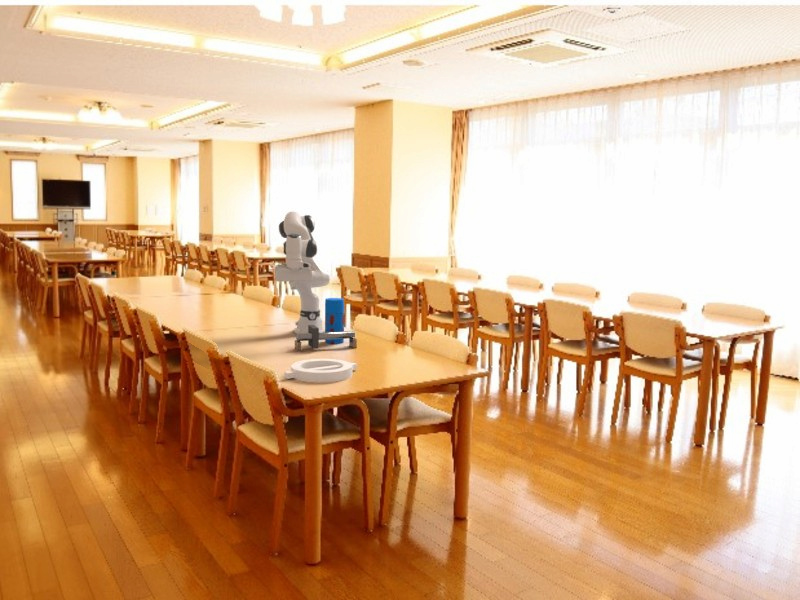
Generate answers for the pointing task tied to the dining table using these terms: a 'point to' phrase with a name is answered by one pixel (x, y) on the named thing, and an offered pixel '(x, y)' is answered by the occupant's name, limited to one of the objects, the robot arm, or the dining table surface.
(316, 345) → the collar
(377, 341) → the dining table surface
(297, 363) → the ring with crossbar
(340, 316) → the thermos
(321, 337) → the pipe rig
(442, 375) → the dining table surface
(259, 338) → the dining table surface
